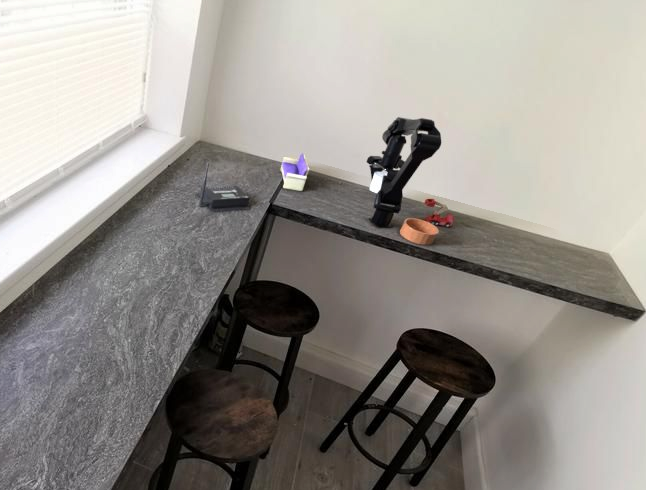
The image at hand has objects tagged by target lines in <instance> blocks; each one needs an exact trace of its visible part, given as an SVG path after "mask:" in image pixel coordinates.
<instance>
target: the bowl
mask: <svg viewBox="0 0 646 490" xmlns="http://www.w3.org/2000/svg"><path fill="white" fill-rule="evenodd" d="M439 232H440V230H439V228H438V227H437V225H435V224H431V223H429V222H427V221H426V220H424V219H420V218H415V217H408V218H405V220H404V221H403V222H402V225H401V227H400V229H399V234H400V235H401V237H402V238H404V239H406V240H407V241H409V242H412V243H413V244H414V243H415V244H417V245H424V246H429V245H432V244H433V243H434V242H435V240H436V238H437V236H438V234H439Z"/></svg>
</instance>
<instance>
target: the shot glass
mask: <svg viewBox="0 0 646 490" xmlns="http://www.w3.org/2000/svg"><path fill="white" fill-rule="evenodd" d="M387 173H388V172H384V171H382V172H375V173H374V176H373V180H372V179H371V183H370V186H369V191H371V192H373V193H375V194H377V193H378V191H380V190H381V185H382V179H383V176H387Z"/></svg>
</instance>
